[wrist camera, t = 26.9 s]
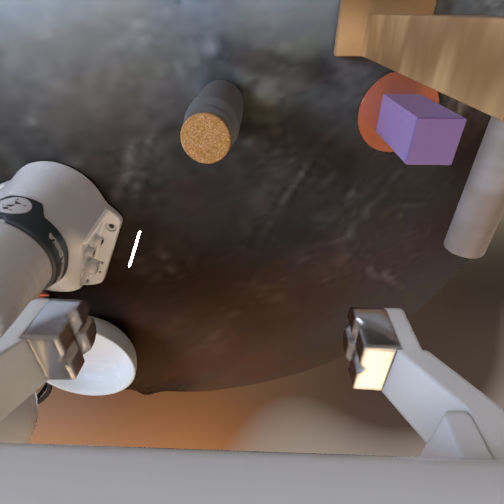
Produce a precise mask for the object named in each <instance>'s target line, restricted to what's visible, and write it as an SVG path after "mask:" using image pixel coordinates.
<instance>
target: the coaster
mask: <svg viewBox="0 0 504 504" xmlns="http://www.w3.org/2000/svg"><path fill="white" fill-rule="evenodd" d="M383 94H421V95H423V96H425V97H427V98H429V99H430V100H432V101H434V102H436V103H438V104H439V95H438V91H436V90H434V89H432V88H430V87H428V86H426V85H423V84H421V83H419V82H417V81H415V80H413V79H411V78H408V77H406V76H404V75H402V74H400V73H398V72H395V71H394V72H391V73H389V74H387V75H385V76H383V77H382V78H380V79H379V80H378V81H376V82H375V83H374V84H373V85H372V86H371V87H370V88H369V90H368V91H367V92H366V94H365V95H364V97H363V99H362V101H361V104H360V107H359V110H358V117H357V120H358V128H359V131H360V134H361V136H362V138H363V139H364V140H365V142H366V143H367V144H368V145H370V146H371V147H373V148H374V149H377V150H379V151H384V152H394V151H393V149H392V148H391V147H390V146H389V145H388V144H387V143H386V142H385V141H384V140H383V139H382V138H381V137H380V135H379V134H378V133H377V132H376V129H377V123H378V118H379V113H380V108H381V103H382V98H383Z"/></svg>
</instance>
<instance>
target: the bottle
mask: <svg viewBox="0 0 504 504" xmlns="http://www.w3.org/2000/svg"><path fill="white" fill-rule="evenodd" d="M243 110H244V100H243V97H242V94H241V92H240V90H239V89H238V88H237V87H236V86H235V85H234V84H233V83H231V82H229V81H226V80H214V81H212V82H210V83H208V84H207V85H206V86H205V87H204V88H203V89H202V90H201V91H200V93H199V94H198V95H197V96H196V98H195V99H194V100H193V101H192V103H191V104H190V106H189V107H188V109H187V111H186V113H185V117H184V122H183V126H182V129H181V134H180V136H181V143H182V146H183V148H184V150H185V152H186V153H187V154H188V155H189V156H190V157H191V158H192V159H194V160H196V161H198V162H201V163H214V162H217V161H219V160H221V159H222V158H223V157H224V156H225V155H226V154H227V152H228V150H229V149H230V147H231V146H232V145H233V144H234V142H235V141H236V139H237V136H238V133H239V130H240V125H241V121H242V116H243Z"/></svg>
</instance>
